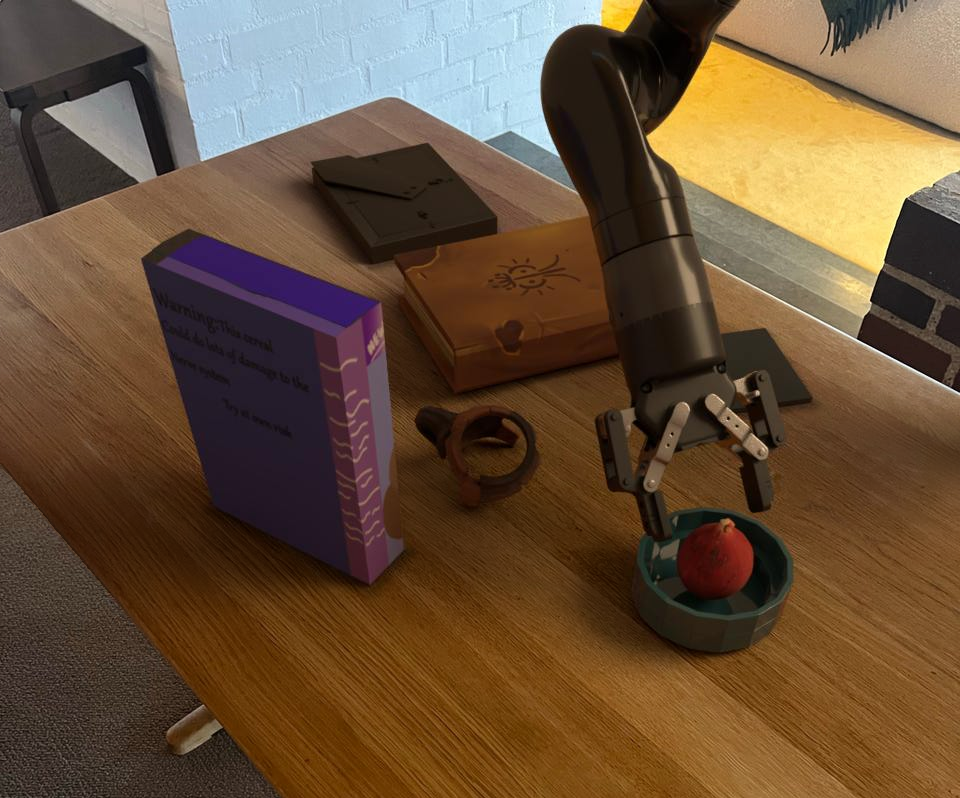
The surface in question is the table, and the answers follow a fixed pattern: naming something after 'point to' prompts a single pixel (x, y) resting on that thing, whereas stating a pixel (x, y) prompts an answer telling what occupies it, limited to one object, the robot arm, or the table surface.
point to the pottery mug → (470, 425)
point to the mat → (762, 365)
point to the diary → (509, 303)
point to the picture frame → (402, 201)
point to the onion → (715, 560)
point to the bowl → (705, 619)
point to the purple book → (283, 399)
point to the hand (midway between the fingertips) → (713, 525)
